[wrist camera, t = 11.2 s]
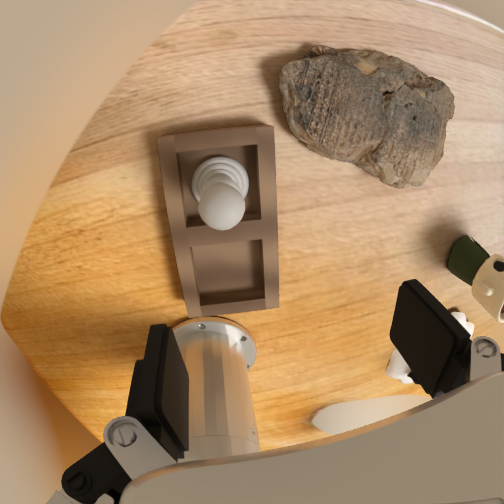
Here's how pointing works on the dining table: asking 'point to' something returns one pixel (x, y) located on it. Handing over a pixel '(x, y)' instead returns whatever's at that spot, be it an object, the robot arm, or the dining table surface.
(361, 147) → the clay tablet
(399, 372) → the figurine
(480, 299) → the character mug
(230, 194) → the chess piece
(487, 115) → the dining table surface
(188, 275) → the tray
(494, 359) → the robot arm
